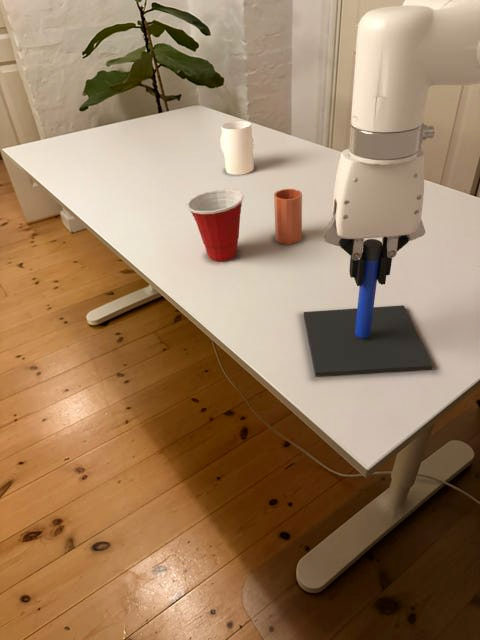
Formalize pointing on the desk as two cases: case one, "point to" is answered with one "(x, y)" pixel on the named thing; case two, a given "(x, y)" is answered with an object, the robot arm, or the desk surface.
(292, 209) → the pen glass
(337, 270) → the desk surface
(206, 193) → the plastic cup
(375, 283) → the marker
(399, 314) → the desk mat
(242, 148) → the mug
